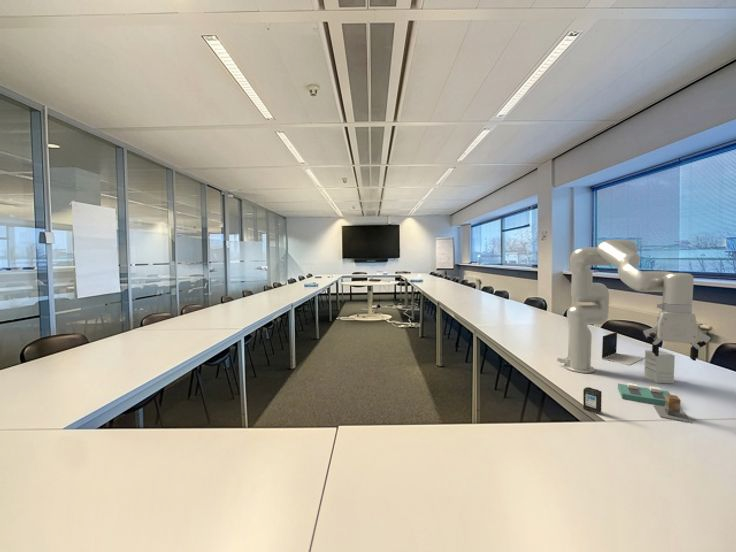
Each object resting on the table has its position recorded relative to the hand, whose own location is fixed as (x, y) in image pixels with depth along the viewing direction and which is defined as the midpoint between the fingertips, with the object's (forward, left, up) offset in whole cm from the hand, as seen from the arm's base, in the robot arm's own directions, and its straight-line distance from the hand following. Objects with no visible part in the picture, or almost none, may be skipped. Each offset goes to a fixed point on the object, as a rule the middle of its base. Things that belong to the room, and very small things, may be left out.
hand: (674, 357), depth 115 cm
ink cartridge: (-24, -11, -20) cm, 33 cm away
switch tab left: (-8, +16, -18) cm, 25 cm away
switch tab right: (-1, +16, -18) cm, 24 cm away
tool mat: (0, 0, -20) cm, 20 cm away
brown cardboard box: (0, -1, -20) cm, 20 cm away
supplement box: (+4, +39, -20) cm, 44 cm away
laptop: (-5, +69, -21) cm, 72 cm away
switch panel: (-5, +13, -20) cm, 24 cm away
